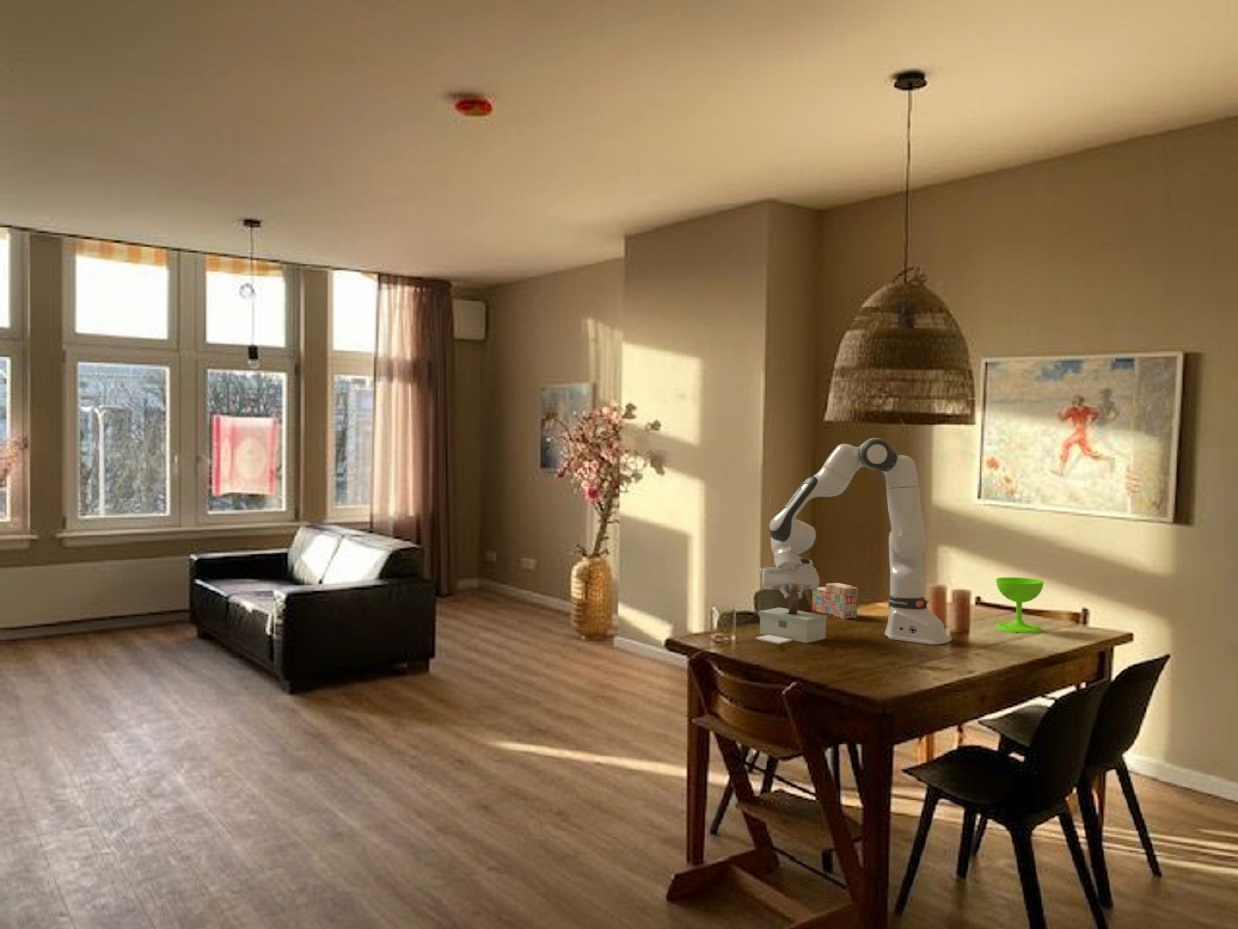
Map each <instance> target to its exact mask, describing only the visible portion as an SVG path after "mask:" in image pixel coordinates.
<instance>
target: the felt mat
mask: <svg viewBox="0 0 1238 929" xmlns="http://www.w3.org/2000/svg"><path fill="white" fill-rule="evenodd" d="M755 640H758V641H762V642H767V643H772V644H776V645H777V644H778V645H781V644H786V643H791V642H792V641H793V640H792V639H787V638H782V637H777V636H772V635H761V636H757V637H755Z"/></svg>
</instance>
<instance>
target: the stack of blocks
mask: <svg viewBox="0 0 1238 929" xmlns="http://www.w3.org/2000/svg"><path fill="white" fill-rule="evenodd" d="M858 589H859V588H858V587H855V586H853V585H850V584H845V583H841V582H840V583H839V582H833V583H826V584H825V586H818V588H817V589H811V595H812V602H811V603H812V604H811V606H812V611H814V612H818V613H822V614H824V613H828V614H833V615H834V616H833V617H835V616H837V617H836V618H838V617H840V618H839V619H841V618H842V620H848V619H847V618H855V619H857V618H858V591H859V590H858ZM828 614H827V615H828Z"/></svg>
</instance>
